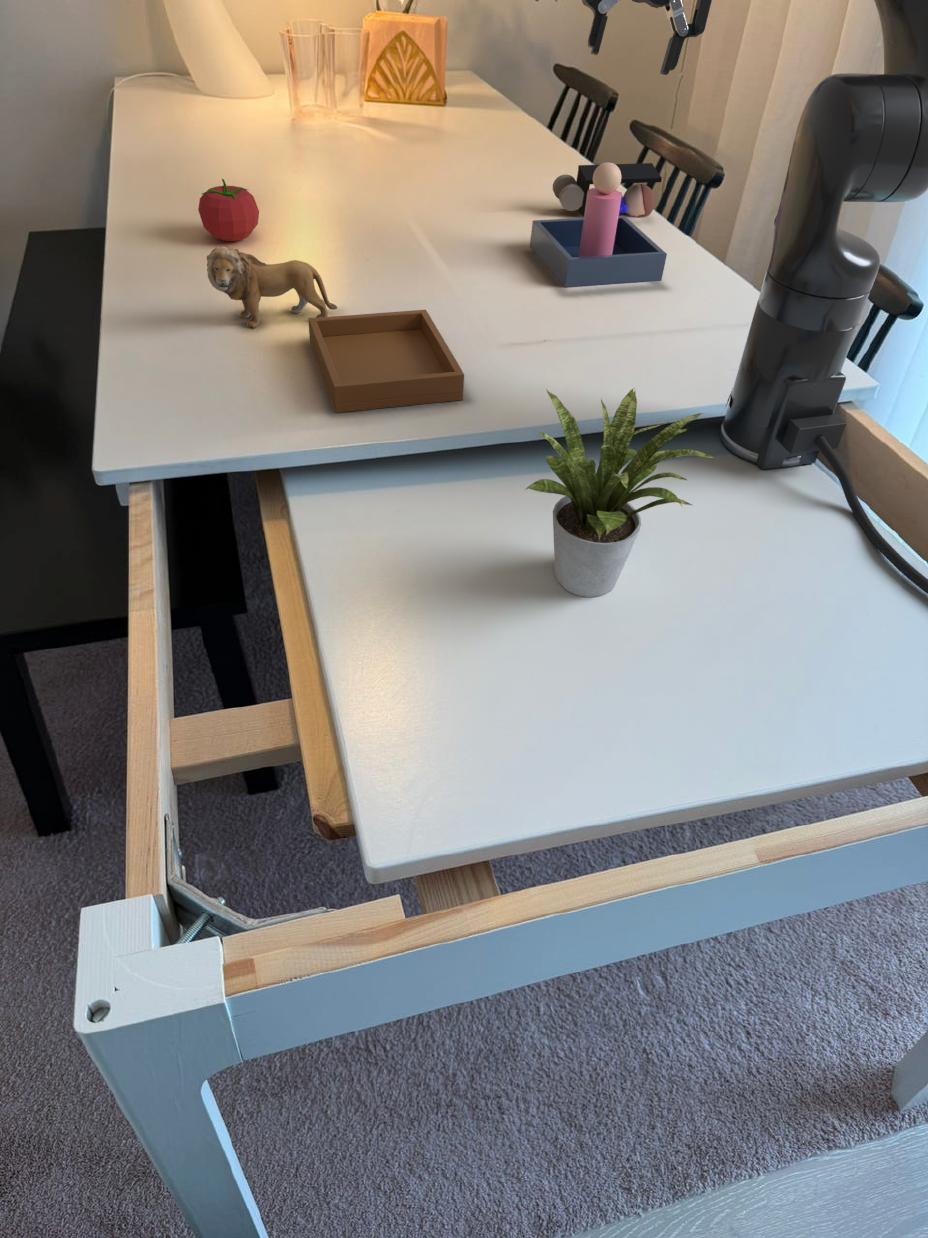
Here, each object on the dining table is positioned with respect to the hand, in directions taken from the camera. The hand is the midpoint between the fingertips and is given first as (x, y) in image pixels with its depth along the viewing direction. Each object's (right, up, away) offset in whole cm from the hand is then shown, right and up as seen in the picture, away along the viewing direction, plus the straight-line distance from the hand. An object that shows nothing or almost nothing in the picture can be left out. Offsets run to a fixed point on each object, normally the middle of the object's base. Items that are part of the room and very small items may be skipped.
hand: (629, 63), depth 107 cm
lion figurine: (-42, -30, +1) cm, 51 cm away
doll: (-2, -17, +17) cm, 24 cm away
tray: (-28, -37, -6) cm, 47 cm away
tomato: (-51, -13, +19) cm, 56 cm away
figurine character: (+2, -4, +32) cm, 32 cm away
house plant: (-8, -62, -31) cm, 70 cm away
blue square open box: (-2, -18, +17) cm, 25 cm away
